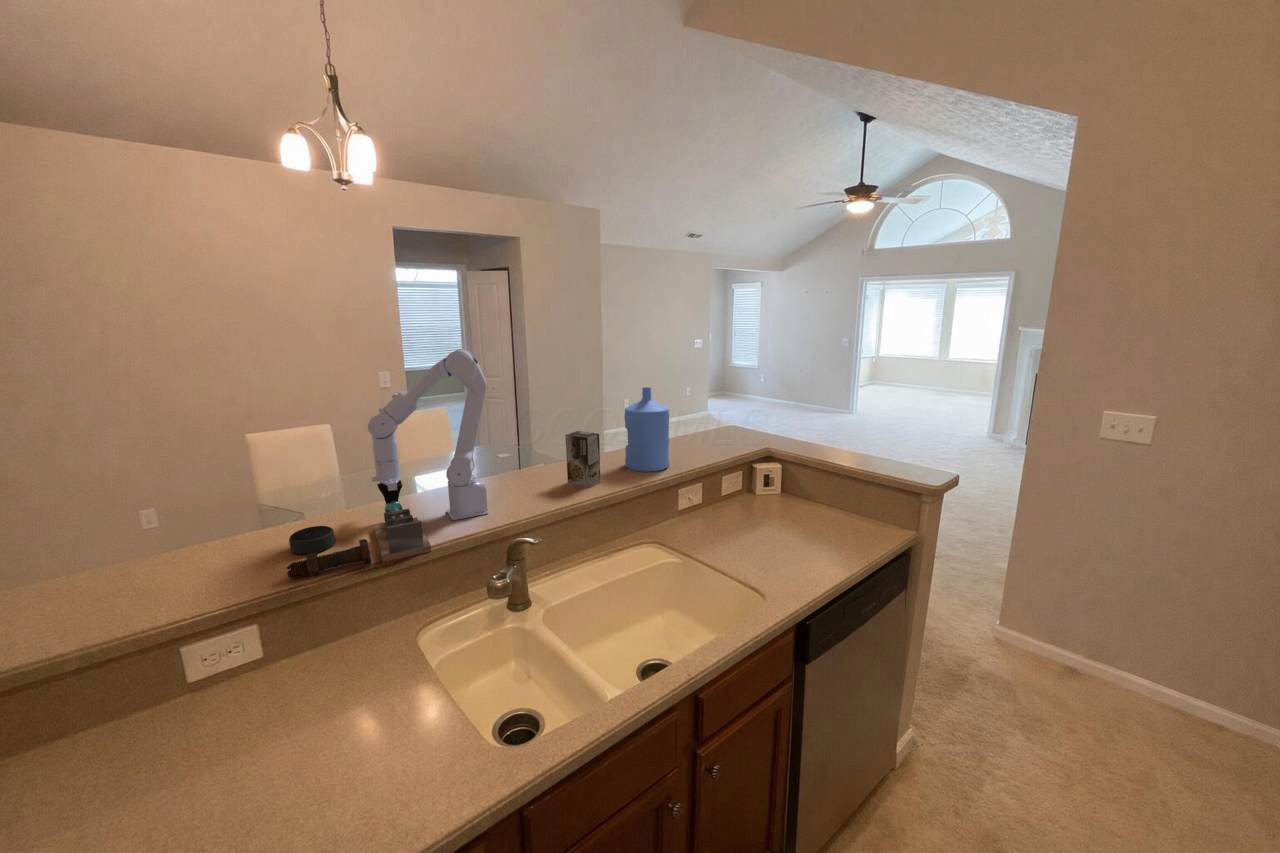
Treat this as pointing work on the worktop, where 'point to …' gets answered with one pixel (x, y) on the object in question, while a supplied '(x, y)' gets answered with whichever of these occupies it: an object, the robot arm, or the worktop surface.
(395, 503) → the shaft
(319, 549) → the smart speaker
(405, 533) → the bearing rig
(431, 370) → the robot arm
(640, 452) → the water jug
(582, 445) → the coffee box
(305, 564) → the bolt
